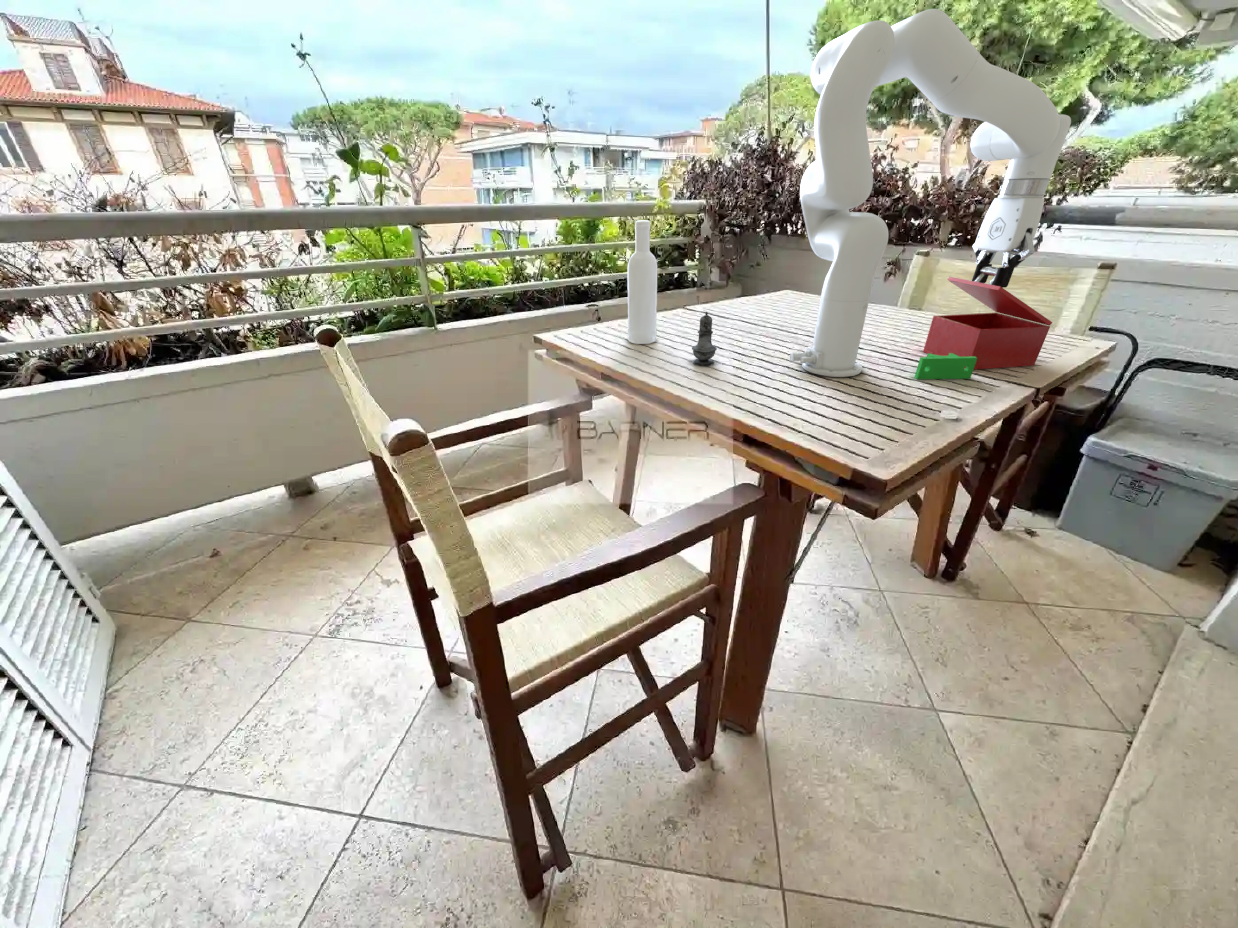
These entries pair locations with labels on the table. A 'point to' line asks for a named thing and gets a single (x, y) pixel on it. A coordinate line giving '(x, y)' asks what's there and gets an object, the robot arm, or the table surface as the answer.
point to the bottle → (642, 288)
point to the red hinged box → (987, 339)
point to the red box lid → (998, 297)
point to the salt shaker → (704, 343)
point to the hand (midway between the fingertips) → (988, 284)
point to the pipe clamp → (945, 367)
